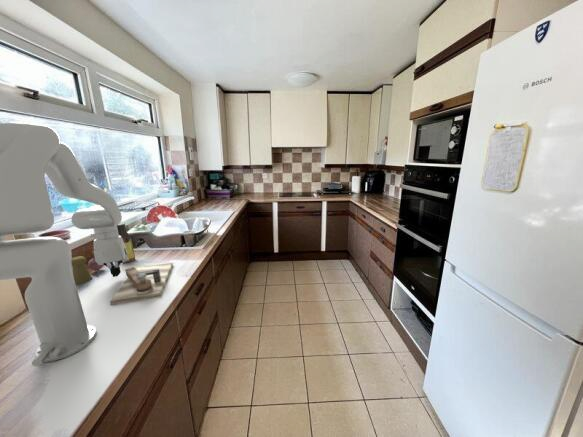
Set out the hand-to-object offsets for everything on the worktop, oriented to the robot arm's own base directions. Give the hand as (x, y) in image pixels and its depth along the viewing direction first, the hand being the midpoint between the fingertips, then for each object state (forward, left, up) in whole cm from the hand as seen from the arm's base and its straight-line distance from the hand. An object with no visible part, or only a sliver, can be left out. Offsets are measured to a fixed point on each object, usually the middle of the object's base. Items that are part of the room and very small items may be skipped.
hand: (116, 275), depth 101 cm
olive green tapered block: (+5, +15, -3) cm, 16 cm away
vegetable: (+14, +13, -3) cm, 19 cm away
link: (-9, -10, 0) cm, 14 cm away
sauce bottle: (+22, +3, -3) cm, 22 cm away
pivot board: (-6, -12, -3) cm, 14 cm away
